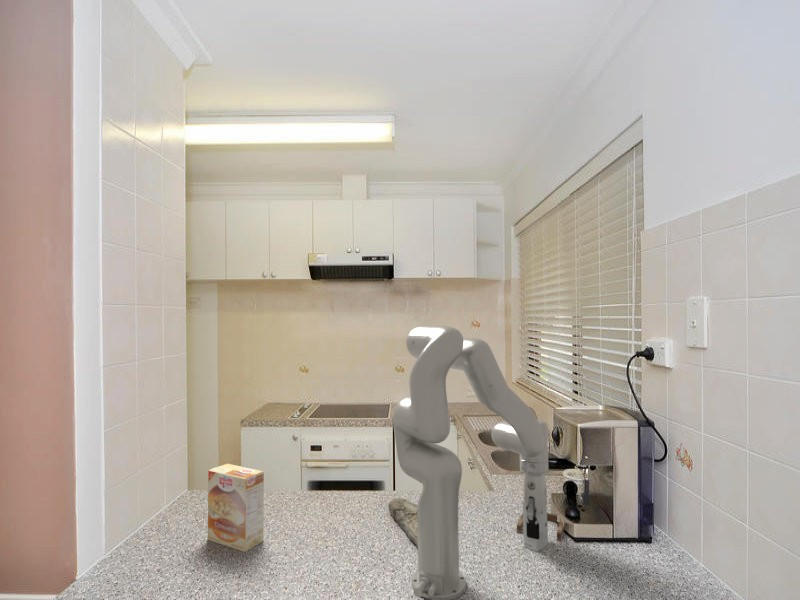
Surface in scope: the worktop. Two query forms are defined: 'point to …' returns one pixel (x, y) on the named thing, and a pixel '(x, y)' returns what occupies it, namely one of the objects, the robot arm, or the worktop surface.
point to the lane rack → (550, 517)
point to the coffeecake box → (235, 506)
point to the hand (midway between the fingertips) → (535, 531)
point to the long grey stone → (406, 516)
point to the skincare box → (543, 531)
